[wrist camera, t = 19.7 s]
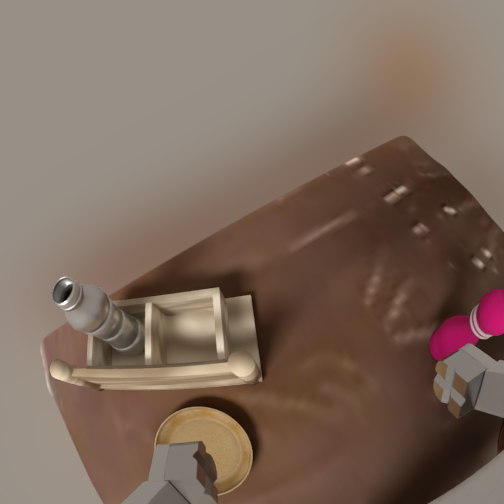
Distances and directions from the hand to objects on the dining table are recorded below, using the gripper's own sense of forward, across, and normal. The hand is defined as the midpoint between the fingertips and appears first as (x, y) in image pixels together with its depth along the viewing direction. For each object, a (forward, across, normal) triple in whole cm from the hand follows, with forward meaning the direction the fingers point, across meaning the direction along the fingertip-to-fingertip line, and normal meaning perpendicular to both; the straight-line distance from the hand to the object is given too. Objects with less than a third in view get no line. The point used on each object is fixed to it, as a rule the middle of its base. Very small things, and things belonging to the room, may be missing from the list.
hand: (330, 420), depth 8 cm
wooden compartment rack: (+36, +17, +14) cm, 42 cm away
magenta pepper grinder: (+26, -27, +24) cm, 45 cm away
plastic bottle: (+36, +22, +12) cm, 44 cm away
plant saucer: (+23, +14, +28) cm, 39 cm away
